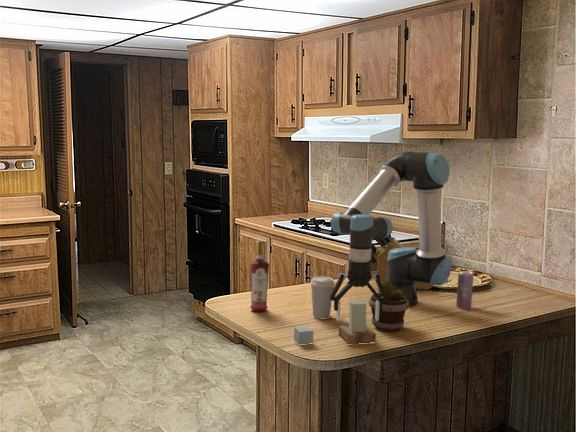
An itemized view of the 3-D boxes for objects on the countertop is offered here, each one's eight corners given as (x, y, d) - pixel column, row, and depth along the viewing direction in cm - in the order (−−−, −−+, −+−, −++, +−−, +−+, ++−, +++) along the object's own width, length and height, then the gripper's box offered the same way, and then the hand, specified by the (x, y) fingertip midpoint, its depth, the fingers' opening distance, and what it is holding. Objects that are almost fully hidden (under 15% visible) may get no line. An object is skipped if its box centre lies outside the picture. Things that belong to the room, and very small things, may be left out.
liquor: (250, 313, 247) (251, 242, 243) (248, 307, 254) (249, 239, 250) (269, 312, 248) (270, 242, 244) (266, 307, 255) (268, 239, 251)
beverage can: (472, 306, 263) (474, 271, 261) (469, 310, 258) (472, 274, 256) (457, 304, 266) (459, 270, 264) (454, 308, 260) (457, 273, 258)
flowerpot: (380, 318, 245) (382, 268, 242) (415, 327, 235) (418, 275, 232) (359, 327, 233) (361, 274, 230) (395, 337, 224) (398, 282, 221)
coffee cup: (316, 321, 239) (318, 283, 237) (304, 314, 247) (305, 277, 245) (338, 318, 243) (339, 280, 241) (325, 311, 252) (326, 274, 249)
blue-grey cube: (307, 339, 219) (307, 326, 218) (312, 344, 214) (313, 330, 214) (293, 341, 217) (294, 327, 217) (299, 346, 213) (299, 331, 212)
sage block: (363, 327, 222) (363, 299, 221) (365, 332, 217) (366, 304, 216) (349, 327, 222) (349, 300, 220) (351, 332, 217) (351, 304, 215)
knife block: (357, 280, 302) (359, 216, 298) (432, 284, 298) (436, 220, 293) (356, 286, 291) (359, 220, 287) (434, 291, 287) (438, 223, 282)
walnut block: (364, 335, 226) (365, 324, 226) (375, 344, 217) (375, 333, 216) (338, 336, 224) (338, 326, 223) (347, 346, 214) (348, 335, 214)
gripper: (325, 262, 211) (323, 323, 214) (398, 262, 213) (395, 323, 216) (322, 257, 219) (320, 316, 222) (393, 257, 221) (390, 316, 224)
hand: (357, 319), depth 219 cm, fingers open, 13 cm apart
